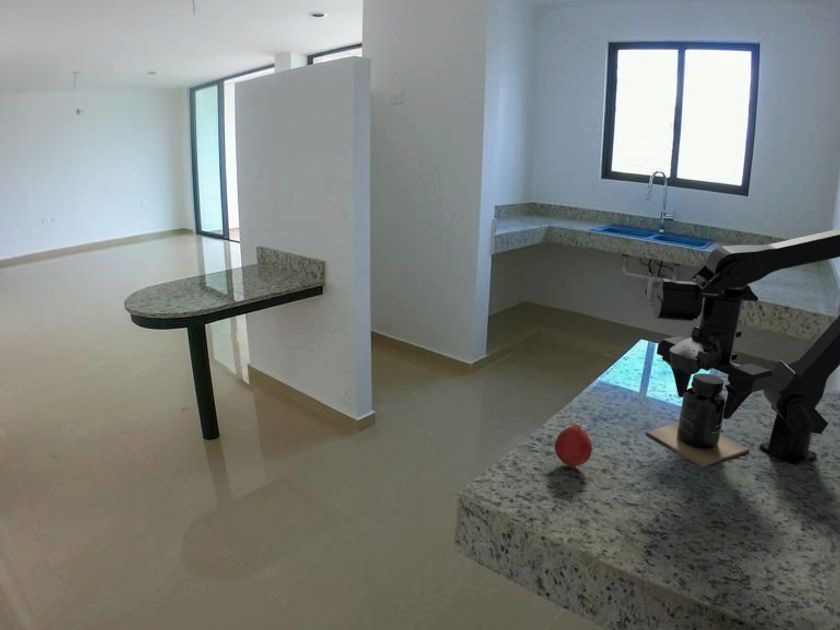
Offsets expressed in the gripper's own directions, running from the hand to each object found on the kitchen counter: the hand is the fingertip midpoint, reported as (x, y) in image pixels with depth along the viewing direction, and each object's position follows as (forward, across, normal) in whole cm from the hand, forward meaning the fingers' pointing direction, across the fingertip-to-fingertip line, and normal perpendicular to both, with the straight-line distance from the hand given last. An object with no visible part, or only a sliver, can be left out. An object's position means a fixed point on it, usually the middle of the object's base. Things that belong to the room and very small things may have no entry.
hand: (702, 407), depth 100 cm
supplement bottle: (+7, 0, 0) cm, 7 cm away
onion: (+7, -3, -26) cm, 27 cm away
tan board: (+7, 0, 0) cm, 7 cm away
